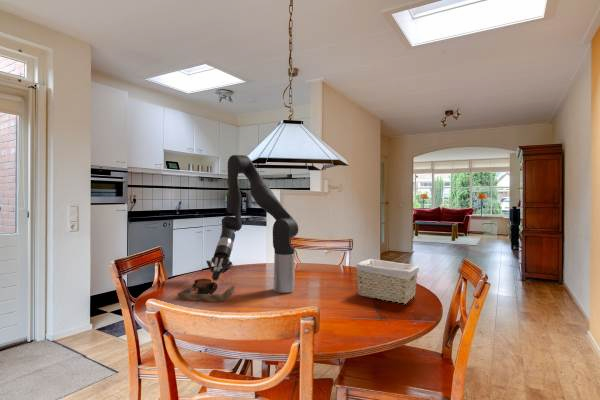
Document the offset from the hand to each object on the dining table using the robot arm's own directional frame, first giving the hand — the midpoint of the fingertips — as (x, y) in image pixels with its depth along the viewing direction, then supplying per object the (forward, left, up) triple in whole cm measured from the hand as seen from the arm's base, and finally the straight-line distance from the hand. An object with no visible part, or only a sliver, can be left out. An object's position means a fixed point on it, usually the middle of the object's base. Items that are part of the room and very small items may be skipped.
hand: (214, 279), depth 156 cm
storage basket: (-78, -5, -5) cm, 78 cm away
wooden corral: (0, +9, -5) cm, 10 cm away
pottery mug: (+1, +9, -5) cm, 10 cm away
